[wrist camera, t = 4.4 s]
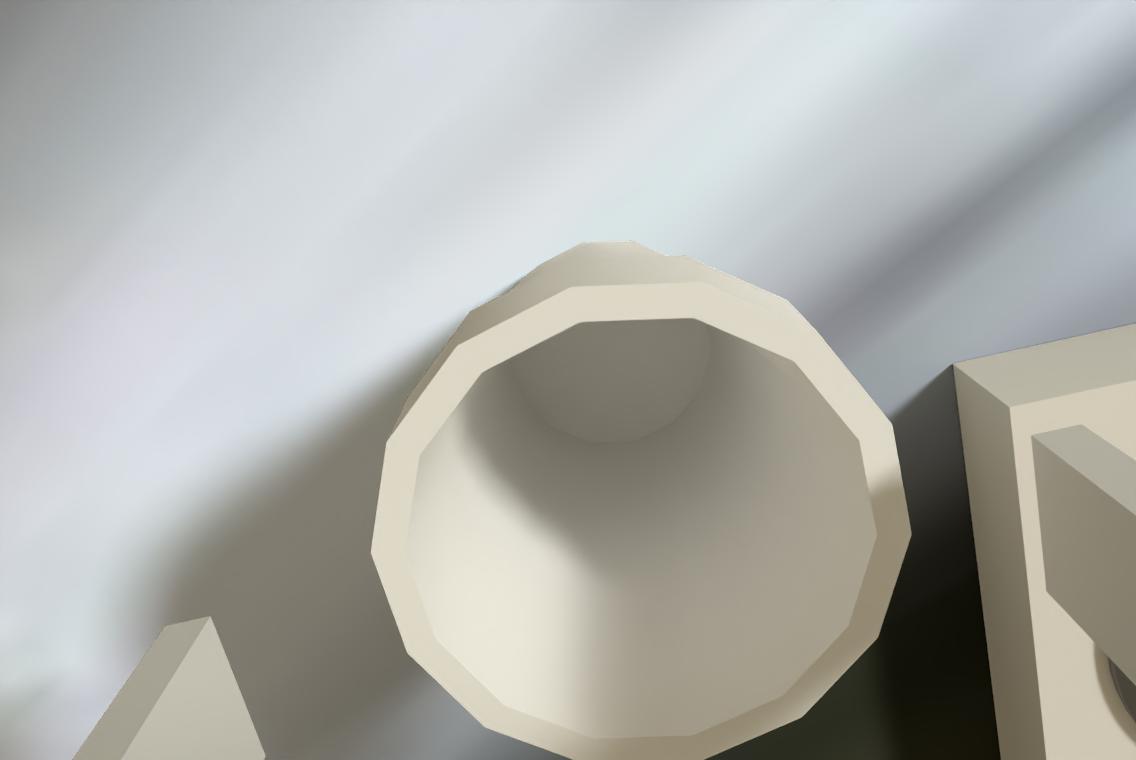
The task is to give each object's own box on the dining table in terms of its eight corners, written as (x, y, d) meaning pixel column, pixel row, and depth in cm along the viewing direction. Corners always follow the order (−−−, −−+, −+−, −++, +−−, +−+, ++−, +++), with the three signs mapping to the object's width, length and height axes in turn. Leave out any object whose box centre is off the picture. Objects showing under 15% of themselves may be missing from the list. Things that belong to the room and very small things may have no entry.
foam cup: (827, 362, 30) (1012, 572, 17) (593, 542, 32) (611, 848, 19) (627, 116, 28) (677, 158, 15) (388, 324, 29) (260, 513, 17)
